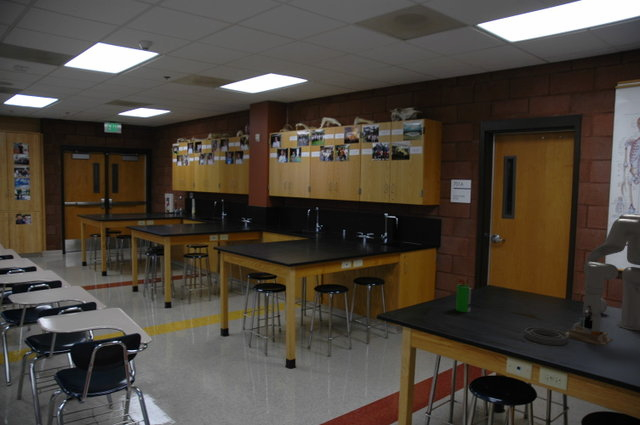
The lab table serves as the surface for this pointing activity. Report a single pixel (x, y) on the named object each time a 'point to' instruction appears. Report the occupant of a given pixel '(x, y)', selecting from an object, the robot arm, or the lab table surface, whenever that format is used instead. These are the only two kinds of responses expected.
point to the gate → (578, 324)
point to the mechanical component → (537, 333)
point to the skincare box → (593, 325)
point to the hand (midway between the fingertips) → (591, 326)
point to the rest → (588, 336)
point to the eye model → (603, 306)
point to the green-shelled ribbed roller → (463, 297)
